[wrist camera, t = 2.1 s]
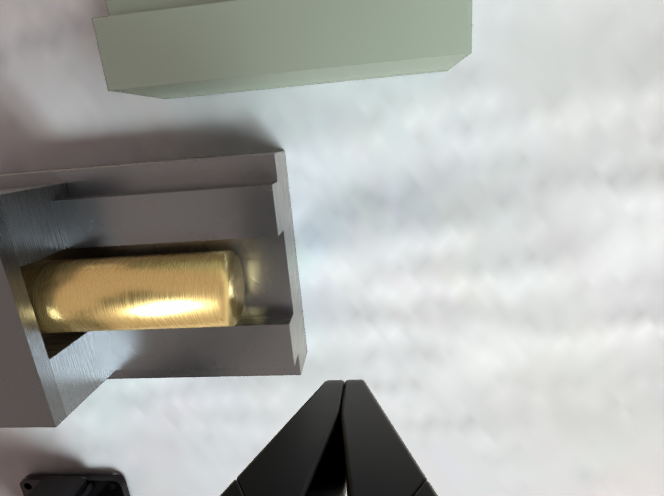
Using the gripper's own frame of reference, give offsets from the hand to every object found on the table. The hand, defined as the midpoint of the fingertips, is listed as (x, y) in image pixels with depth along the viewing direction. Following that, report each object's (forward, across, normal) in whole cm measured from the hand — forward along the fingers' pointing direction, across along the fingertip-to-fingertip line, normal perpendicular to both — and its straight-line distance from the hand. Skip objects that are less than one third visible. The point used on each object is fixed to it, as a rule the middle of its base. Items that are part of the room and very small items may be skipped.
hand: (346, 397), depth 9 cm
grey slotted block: (+10, +10, 0) cm, 14 cm away
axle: (+7, +12, 0) cm, 14 cm away
